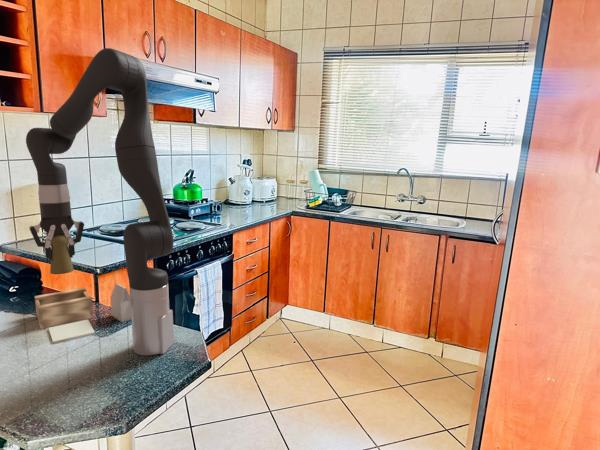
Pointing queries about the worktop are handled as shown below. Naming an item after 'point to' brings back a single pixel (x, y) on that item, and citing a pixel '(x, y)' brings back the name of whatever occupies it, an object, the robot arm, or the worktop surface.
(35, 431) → the worktop surface
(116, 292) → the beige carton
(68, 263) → the cork
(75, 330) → the cream mat
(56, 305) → the open rectangular wooden frame
